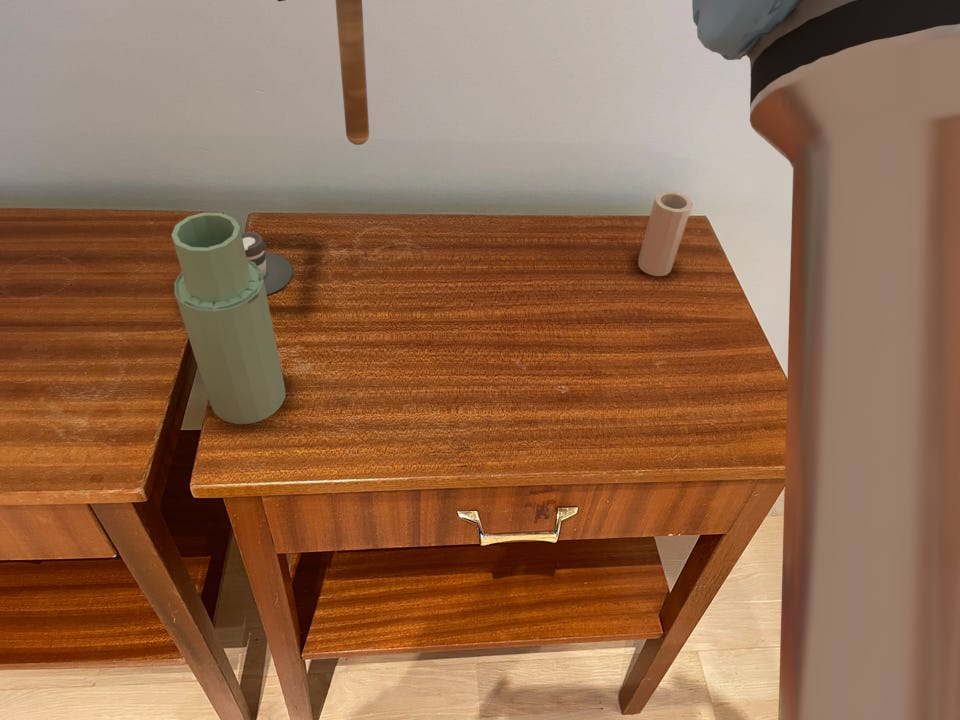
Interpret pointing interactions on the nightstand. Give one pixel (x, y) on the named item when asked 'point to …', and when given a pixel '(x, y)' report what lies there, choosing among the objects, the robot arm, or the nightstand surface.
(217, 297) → the bottle
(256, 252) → the coffee cup
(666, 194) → the holder
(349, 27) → the wooden stick
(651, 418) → the nightstand surface
